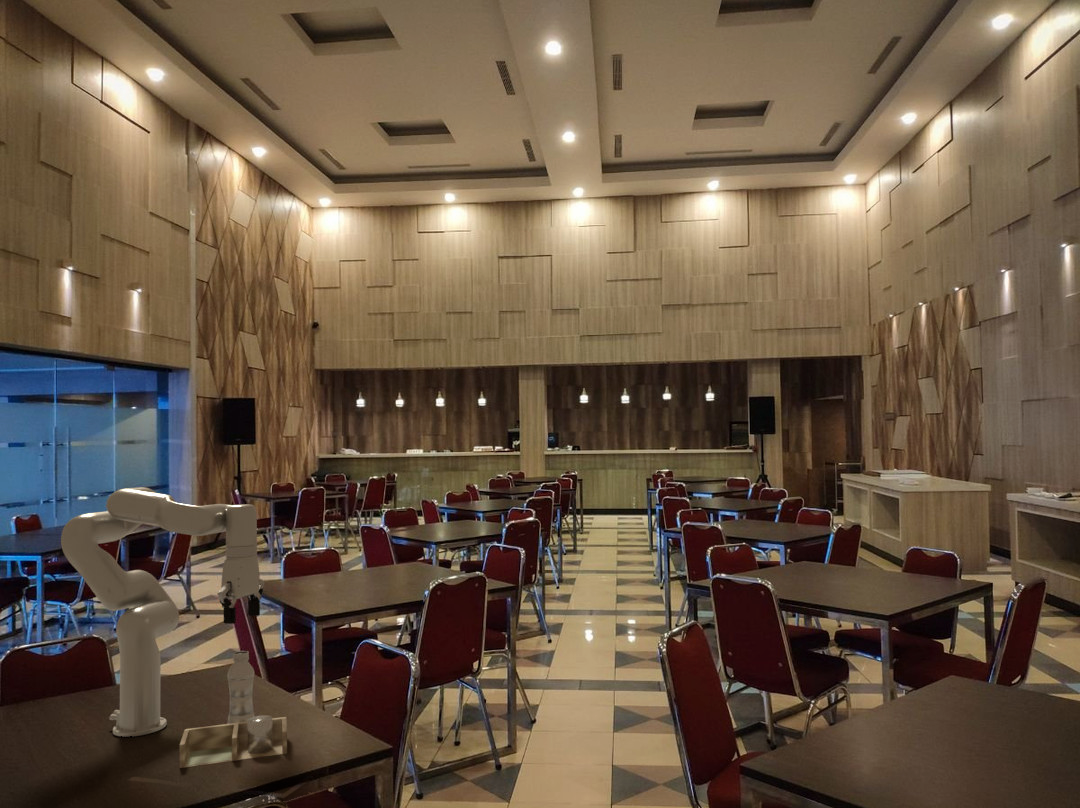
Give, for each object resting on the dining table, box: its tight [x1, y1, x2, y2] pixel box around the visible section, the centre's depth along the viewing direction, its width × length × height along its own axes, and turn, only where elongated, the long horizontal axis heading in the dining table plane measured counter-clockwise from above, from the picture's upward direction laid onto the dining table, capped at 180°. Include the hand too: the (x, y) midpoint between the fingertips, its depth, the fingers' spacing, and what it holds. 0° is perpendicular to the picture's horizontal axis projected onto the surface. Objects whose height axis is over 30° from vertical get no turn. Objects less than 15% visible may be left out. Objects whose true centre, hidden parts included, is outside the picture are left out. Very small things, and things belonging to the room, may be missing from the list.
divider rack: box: [179, 716, 288, 769], centre depth 187 cm, size 23×11×6 cm, turn 109°
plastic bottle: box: [226, 650, 255, 724], centre depth 203 cm, size 6×7×20 cm
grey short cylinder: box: [247, 714, 273, 754], centre depth 188 cm, size 6×6×7 cm
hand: (242, 619), depth 204 cm, fingers open, 9 cm apart
